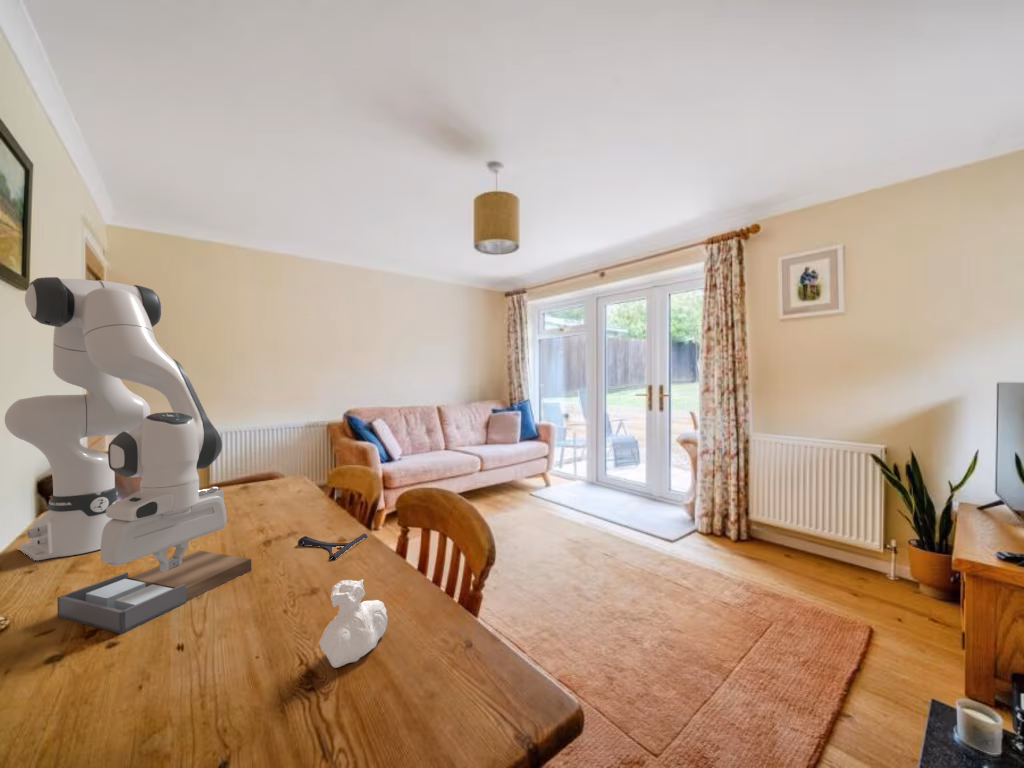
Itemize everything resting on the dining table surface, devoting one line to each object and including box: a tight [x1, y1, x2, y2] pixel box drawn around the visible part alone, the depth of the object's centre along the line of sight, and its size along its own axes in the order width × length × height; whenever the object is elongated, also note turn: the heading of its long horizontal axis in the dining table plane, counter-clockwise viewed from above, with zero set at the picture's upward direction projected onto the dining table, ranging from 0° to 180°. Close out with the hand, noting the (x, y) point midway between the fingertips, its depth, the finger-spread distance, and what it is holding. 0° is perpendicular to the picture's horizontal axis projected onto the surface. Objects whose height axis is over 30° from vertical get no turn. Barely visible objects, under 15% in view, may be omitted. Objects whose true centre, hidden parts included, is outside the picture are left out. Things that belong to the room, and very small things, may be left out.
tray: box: [56, 571, 187, 635], centre depth 76 cm, size 17×10×4 cm, turn 72°
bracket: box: [297, 533, 368, 560], centre depth 105 cm, size 14×15×3 cm
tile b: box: [115, 585, 173, 610], centre depth 76 cm, size 6×6×2 cm
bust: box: [318, 579, 389, 669], centre depth 64 cm, size 12×8×11 cm
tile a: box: [86, 579, 145, 608], centre depth 78 cm, size 6×6×2 cm
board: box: [128, 550, 252, 602], centre depth 87 cm, size 16×14×2 cm
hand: (170, 568), depth 80 cm, fingers closed
